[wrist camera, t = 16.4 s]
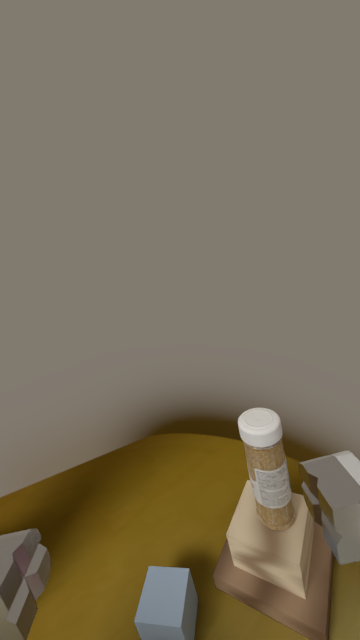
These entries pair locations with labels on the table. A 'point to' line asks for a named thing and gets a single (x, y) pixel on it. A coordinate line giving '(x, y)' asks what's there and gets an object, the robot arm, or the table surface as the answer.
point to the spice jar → (267, 467)
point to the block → (167, 605)
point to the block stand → (278, 567)
